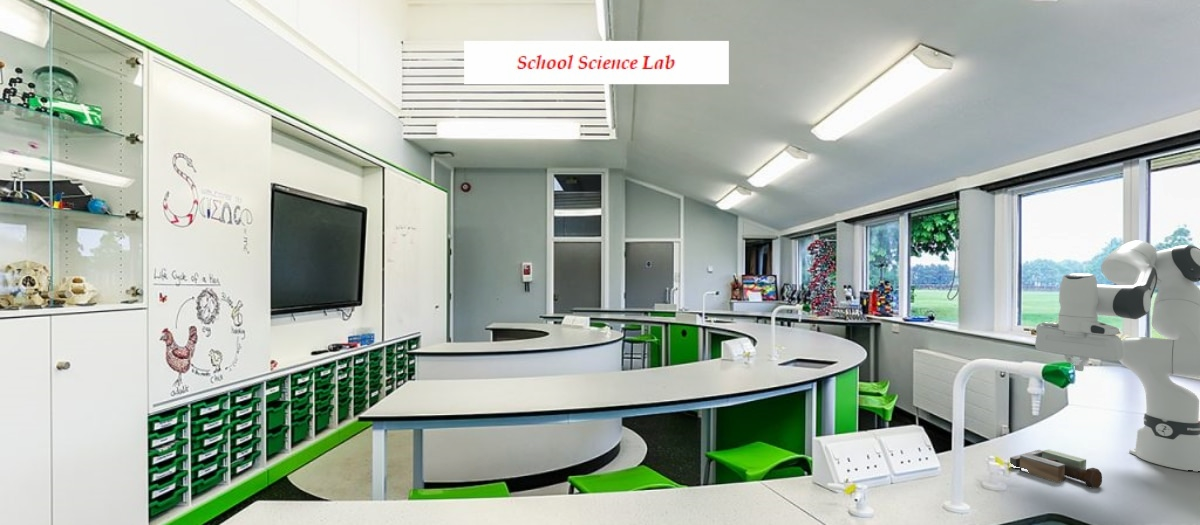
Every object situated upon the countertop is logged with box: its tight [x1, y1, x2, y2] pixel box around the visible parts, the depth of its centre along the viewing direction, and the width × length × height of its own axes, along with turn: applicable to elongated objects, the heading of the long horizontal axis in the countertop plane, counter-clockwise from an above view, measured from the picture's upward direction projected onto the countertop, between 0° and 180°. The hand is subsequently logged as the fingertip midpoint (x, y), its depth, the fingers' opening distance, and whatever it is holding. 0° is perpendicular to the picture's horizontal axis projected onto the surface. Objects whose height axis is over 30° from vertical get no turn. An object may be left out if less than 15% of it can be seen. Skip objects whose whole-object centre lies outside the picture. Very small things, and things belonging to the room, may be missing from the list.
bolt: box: [1041, 457, 1103, 489], centre depth 148 cm, size 6×5×15 cm
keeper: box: [1009, 449, 1087, 483], centre depth 152 cm, size 17×12×4 cm
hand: (1076, 370), depth 158 cm, fingers closed
